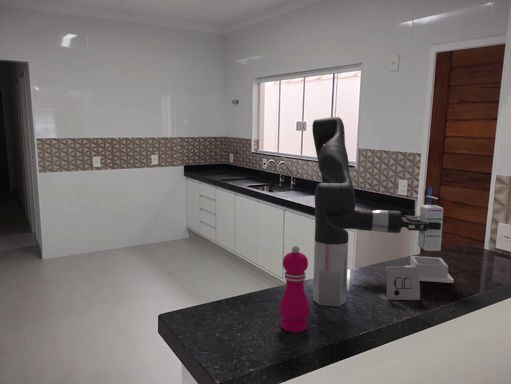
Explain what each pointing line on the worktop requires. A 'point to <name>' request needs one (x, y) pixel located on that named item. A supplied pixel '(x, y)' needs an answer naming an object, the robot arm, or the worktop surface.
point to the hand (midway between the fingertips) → (437, 224)
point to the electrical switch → (402, 283)
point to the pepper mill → (294, 292)
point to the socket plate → (431, 269)
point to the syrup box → (431, 237)
